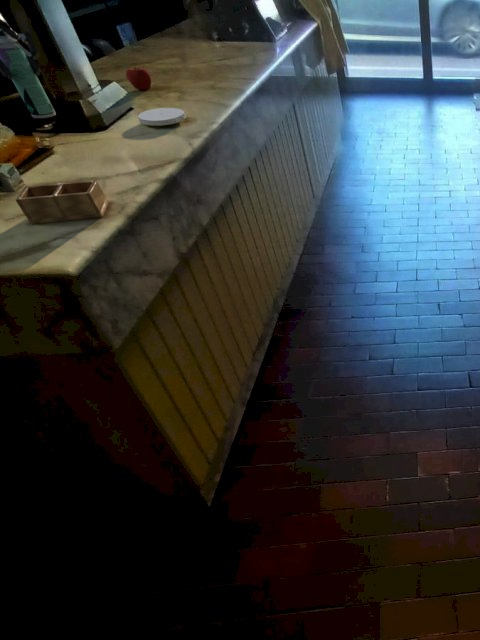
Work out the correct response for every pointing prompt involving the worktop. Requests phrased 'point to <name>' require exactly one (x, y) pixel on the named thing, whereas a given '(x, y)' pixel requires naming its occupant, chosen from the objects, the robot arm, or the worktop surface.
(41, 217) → the box
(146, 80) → the apple
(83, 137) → the worktop surface
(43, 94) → the spray can
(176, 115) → the plastic lid
